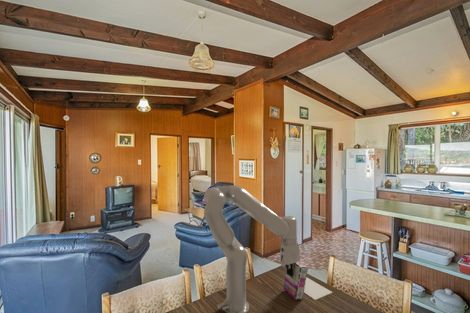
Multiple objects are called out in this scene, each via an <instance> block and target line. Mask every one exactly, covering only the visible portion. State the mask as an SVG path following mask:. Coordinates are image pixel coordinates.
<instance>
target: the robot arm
mask: <svg viewBox="0 0 470 313" xmlns="http://www.w3.org/2000/svg"><path fill="white" fill-rule="evenodd" d="M203 198H204V201H205V202H206V204H205V206H204V209H203V210H204V212H203V217H204V219H205V222H206V224H207V226H208V228H209V229H210V233H211V235H212V237H213V239H214V240H215V242H216V244H217V246H218V247H219V248H220V250H221V252H222V253H223V255H224V256H225V258H226V260H227V261H226V263H227V264H226V268H225V269H226V270H225V271H226V272H225V273H226V274H225V277H226V282H225V283H226V284H225V285H226V298H224V301H223V302H222V303H219V304H217V305H216V306H217V309H218V310H220V309H222V311H223V312H225V313H248V312H249V310H250V304H249V302H248V301H247V280H246V279H247V277H246V276H247V271H246V270H247V261H248V254H247V250H246V249H245V247H244V246H243V245H242V244H241V243H240V242H239V240H238V239H237V238H236V236H235V232H234V230H233V228H232V227H231V226H230V224H229V222H228V221H227V220H226V217H225V216H224V214H223V209H224V206H225V204H226V203H231V202H232V203H233V204H234V205H235V206H237V207H238V208H239V209H241V210H242V211H243V212H245V213H246V215H248V216H250V217H251V218H253V220H255V221H257V222H259V223H261V224H262V225H264V226H265V227H266V228H267V229H268V230H269V231H270V232H272V233H273V234H275V235H276V236H278V237H281V240H280V242H281V245H280V251H279V253H280V254H279V257H280V258H279V261H280V262H281V263H280V266H281V267H285V268H286V271H287V275H289V276H293V268H294V265H295V263H297V262H300V260H301V252H300V245H299V242H298V240H297V239H298V236H297V234H298V231H297V230H298V228H297V223H298V222H297V218H296V217H294V216H291V215H286V216H279V215H277V214H276V213H275V212H274V211H273V210H271V209H270V208H269V207H267V206H266V205H264V203H262V201H260V200H258V199H257V198H256V197H255V196H254V195H252V194H251V193H250V192H248V191H247V189H245V188H243V187H242V186H239V185H236V184H233V185H232V184H231V185H224V186H223V185H222V186H214V187H210V188H208V189H207V190H205V192H204V195H203Z"/></svg>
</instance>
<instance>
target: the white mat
mask: <svg viewBox="0 0 470 313" xmlns="http://www.w3.org/2000/svg"><path fill="white" fill-rule="evenodd" d="M331 294H333V291H332V290H329V289H327V288H326V287H325V286H322V285H321V284H319V283H317V282H316V281H314V280H312V279H311V278H309V277H307V276H306V282H305V288H304V295H306V296H308V297H309V298H311V299H312V300H314V301H317V300H319V299H323V298H324V297H326V296H328V295H331Z"/></svg>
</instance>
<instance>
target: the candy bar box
mask: <svg viewBox="0 0 470 313" xmlns="http://www.w3.org/2000/svg"><path fill="white" fill-rule="evenodd" d="M308 269H309V268H308V266H306V265H305V264H303V263H301V262H300V261H298V262H297V263H295V265H294V268H293V276H289V275H287V270H286V272H285V279H284V284H283V290H284V291H285V292H286V293H287V294H288V295H289V296H291V297H292V299H294V300H300V301H301V300H303V299H304V295H305V293H304V288H305V282H306V277H307V276H308Z"/></svg>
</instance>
